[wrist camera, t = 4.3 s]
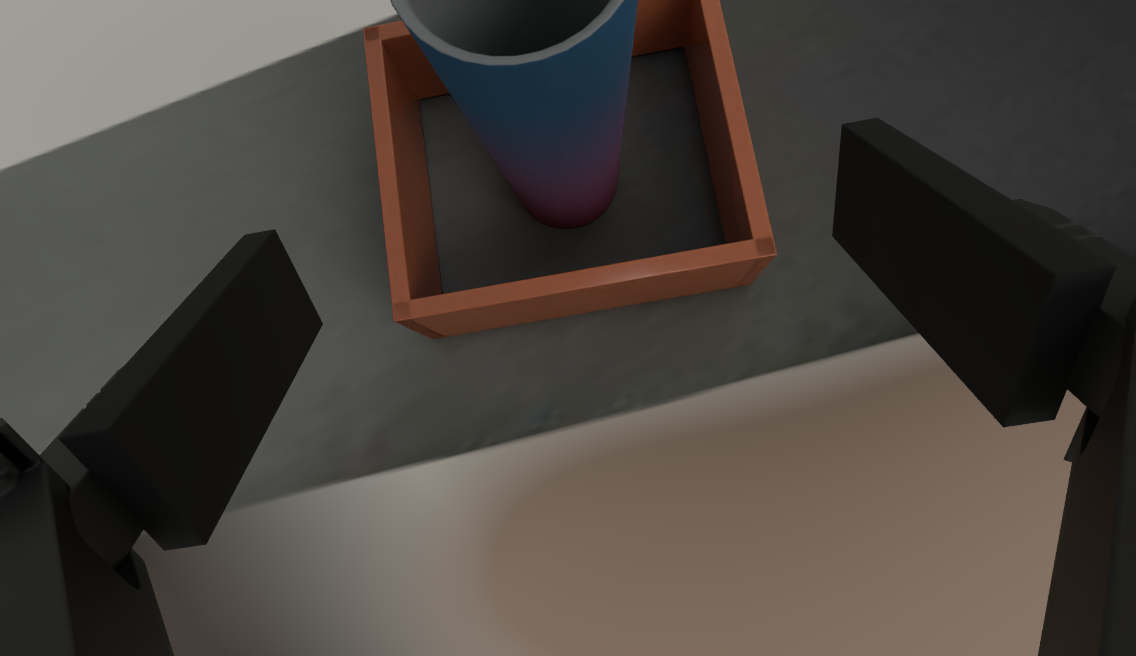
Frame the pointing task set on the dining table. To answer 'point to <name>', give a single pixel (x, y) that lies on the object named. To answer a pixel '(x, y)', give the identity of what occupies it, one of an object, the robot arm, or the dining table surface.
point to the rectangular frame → (663, 21)
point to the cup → (537, 91)
